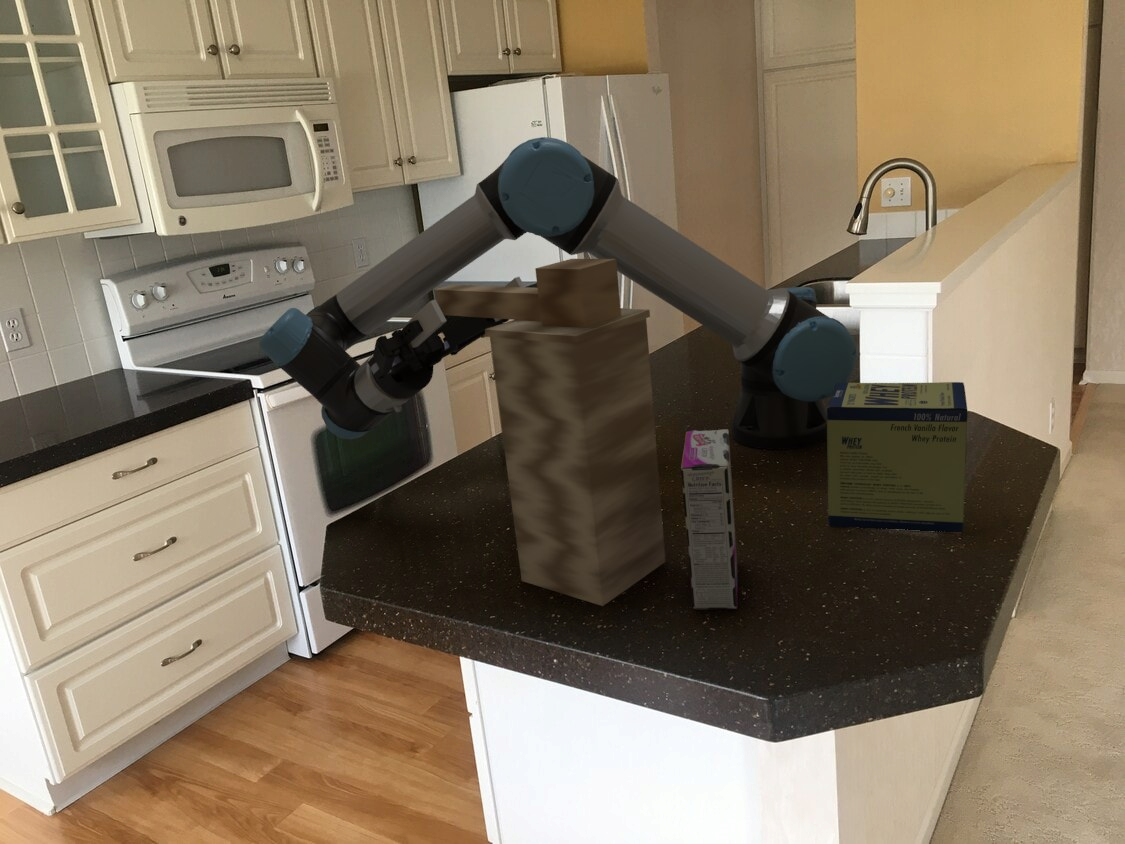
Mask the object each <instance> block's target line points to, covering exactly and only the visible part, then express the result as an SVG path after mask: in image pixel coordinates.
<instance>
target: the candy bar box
mask: <svg viewBox="0 0 1125 844" xmlns="http://www.w3.org/2000/svg"><path fill="white" fill-rule="evenodd" d="M684 435H685V436H684V446H683V452H682V457H681V458H682V459H681V465H680V473H681V481H682V494H683V497H682V498H683V506H684V517H685V528H686V540H687V554H688V564H689V576H690V589H691V600H692V602H691V603H692V609H694V610H699V611H700V610H701V611H707V610H737V609H738V558H737V556H738V555H737V541H736V540H737V539H736V528H735V527H736V526H735V515H734V514H735V513H734V512H735V510H734V497H733V480H732V466H731V465H732V464H731V462H732V461H731V448H730V432H729V429H725V428H724V429H704V430H703V429H702V430H699V429H698V430H697V429H694V430H688V431H686V432H685V434H684Z"/></svg>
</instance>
